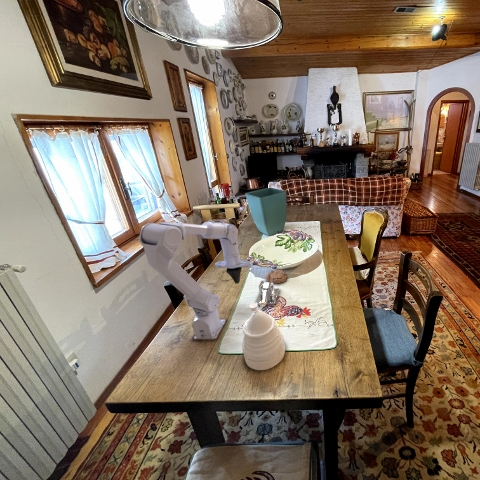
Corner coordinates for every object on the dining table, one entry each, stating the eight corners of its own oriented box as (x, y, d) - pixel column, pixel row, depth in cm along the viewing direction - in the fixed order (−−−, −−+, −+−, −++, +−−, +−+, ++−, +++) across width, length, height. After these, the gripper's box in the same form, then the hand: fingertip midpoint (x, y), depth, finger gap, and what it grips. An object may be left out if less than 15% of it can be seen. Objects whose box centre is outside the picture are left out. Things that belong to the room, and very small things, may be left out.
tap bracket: (274, 305, 104) (272, 290, 101) (255, 305, 104) (252, 290, 101) (279, 290, 113) (277, 276, 110) (261, 290, 114) (259, 277, 111)
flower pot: (266, 239, 166) (260, 197, 155) (251, 232, 180) (244, 193, 168) (290, 230, 178) (286, 191, 167) (275, 224, 192) (270, 187, 180)
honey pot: (237, 353, 82) (226, 309, 75) (270, 332, 90) (263, 290, 83) (258, 378, 74) (248, 331, 66) (293, 351, 82) (287, 307, 74)
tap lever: (266, 308, 101) (264, 305, 99) (259, 308, 101) (258, 305, 99) (270, 285, 108) (269, 282, 106) (264, 286, 108) (263, 282, 107)
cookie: (277, 286, 116) (276, 281, 115) (262, 280, 122) (261, 274, 121) (292, 277, 123) (291, 271, 122) (277, 270, 129) (276, 265, 128)
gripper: (252, 247, 101) (257, 276, 107) (217, 248, 102) (224, 277, 108) (246, 256, 95) (252, 286, 101) (209, 256, 96) (217, 286, 101)
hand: (237, 282), depth 104 cm, fingers closed
